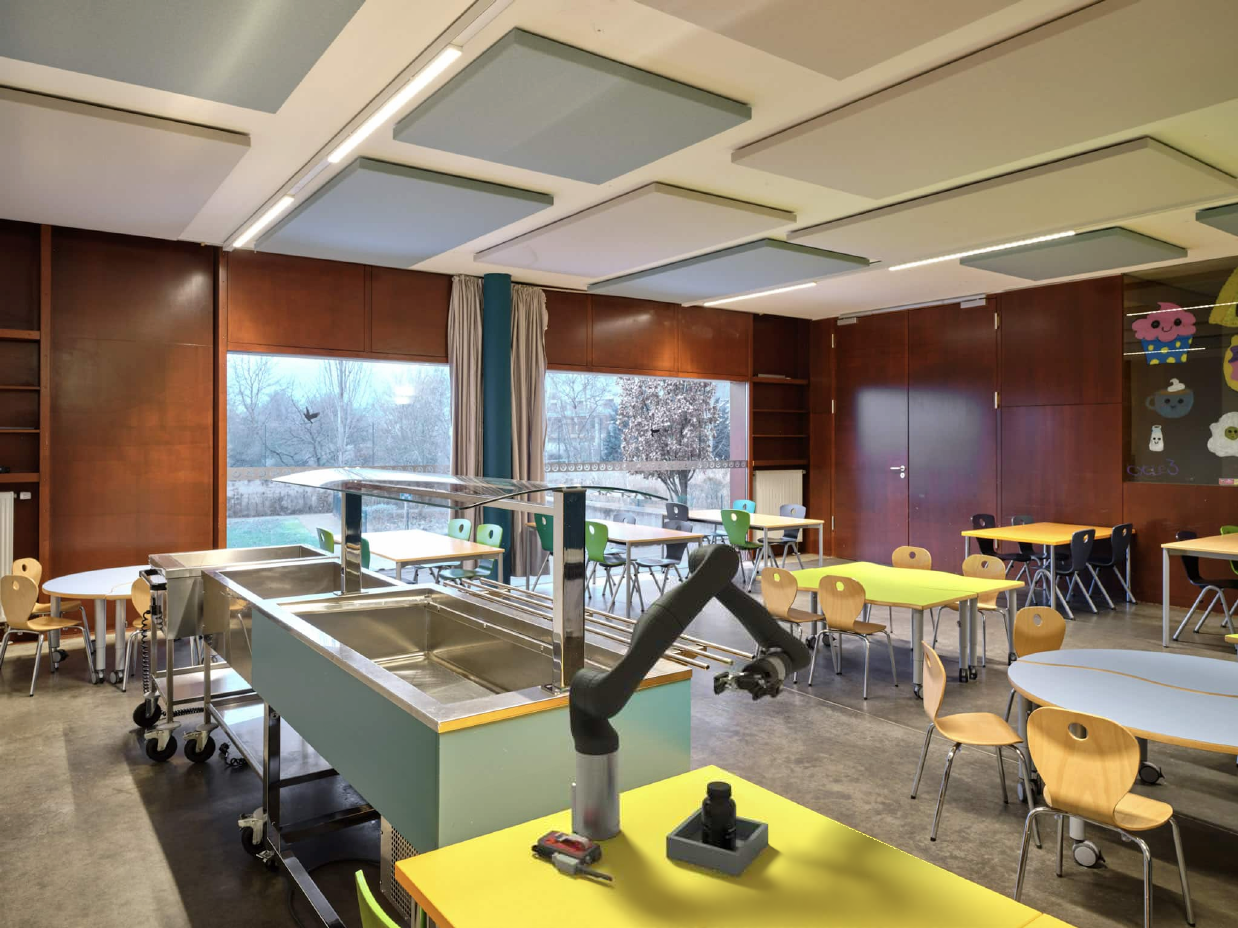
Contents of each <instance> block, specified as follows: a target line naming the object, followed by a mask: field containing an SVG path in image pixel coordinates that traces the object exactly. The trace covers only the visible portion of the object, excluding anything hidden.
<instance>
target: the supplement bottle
mask: <svg viewBox="0 0 1238 928" xmlns="http://www.w3.org/2000/svg"><path fill="white" fill-rule="evenodd" d="M705 793H706V796H704V798H703V800H702V801H701V808H702V844H706V845H710V846H714V847H717V848H721V849H725V850H728V851H733V850H734V849H735V848H736V816H737V803H736V801H735V799H733V798H732V796H733V794H732V793H733V792H732V786H731V784H730V783H728V782H725V781H719V780H717V781H710V782H708V783H707V784H706V792H705Z"/></svg>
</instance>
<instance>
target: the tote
mask: <svg viewBox="0 0 1238 928" xmlns="http://www.w3.org/2000/svg"><path fill="white" fill-rule="evenodd" d="M768 845H769V823H766V822H763V821H758V820H755V819H750V818H746V817H741V816H738V815H736V848H735V849H734V850H733V851H728V850H725V849H721V848H717V847H714V846H710V845H706V844H702V806H700V807H699V808H698V809H697V810H695V811H694V812H693V813H692V814H690V815H689V816H688V817H687V818H686V819H685V820H683V821H682V822H681V823H680V824H679V825H677V826H676V827H675V828H674V829H673V830H671V831H670V832H669V833H668V834H667V835H666V836H665V848H666V849H665V851H666V852H665V853H666V855H665V856H666V858H667V859H671V860H675V861H679V862H683V863H686V864H689V865H692V864H693V865H692V866H695V867H696V866H697V867H700V868H702V867H704V868H703V869H706V868H707V870H709V869H711V871H713V870H716V871H719V872H718V873H720V872H722V873H721V874H723V873H726V874H725V875H727V874H728V876H730V875H732V876H731V877H734V876H735V877H734V878H737V879H738V878H740V877H741V876H742V875H743V873H744V872H745V871H746V870H747V869H748V868H749V867H750V866H751V864H752V863H753V862H754V861H755V860H756V859H757V858H758V856H759V855H760V854H761V853H762V852H763V851H764V850H765V848H767V846H768ZM762 850H763V851H762ZM755 858H756V859H755ZM754 859H755V860H754ZM752 861H753V862H752ZM747 867H748V868H747ZM744 870H745V871H744ZM716 871H715V872H716ZM740 875H741V876H740ZM739 876H740V877H739Z"/></svg>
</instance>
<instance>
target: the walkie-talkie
mask: <svg viewBox="0 0 1238 928" xmlns="http://www.w3.org/2000/svg"><path fill="white" fill-rule="evenodd" d="M601 847H602V846H601V844H599V843H596V842H594V841H592V840H589V839H588V838H586V837H583V836H582V837H580V835H578V834H577V833H574V832H573V833H571V834H568V833H565V832H563V831H559V830H551V831H549V832H547V833H545V834H544V835H542V836H540V837H539V838H538V839H537V844H533V845H531V851H532V852H533V853H535V854H537V856H538V857H541V858H544V859H546V860H550V861H551V862H553V863H554V865H555V867H556V869H557V870H560V871H563V872H565V873H568V874H570V875H571V876H574V875H576V874H577V873H579V874H583V875H587V876H590V877H593V878H596V879H602V880H605V881H608V882H612V881H613V877H612V876H611V875H608V874H605V873H603V872H600V871H597V870H594V869H591V868H589V867H590V866H591V865H592V864H594V863H595V862H599V861H600V860H601V859H602V855H603V854H602V853H603V852H602V850H601V849H602V848H601Z"/></svg>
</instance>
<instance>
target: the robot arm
mask: <svg viewBox="0 0 1238 928" xmlns="http://www.w3.org/2000/svg"><path fill="white" fill-rule="evenodd" d="M740 562H741V561H740V556H739V553H738V551H737V549H735V548H734V547H733V546H732V545H730V544H728V543H714V544H713V543H712V544H708V545H702V546H699V547H697V548H694V549H693V550H692V551H691V552H690V554H689V556H688V559H687V567H688V568H687V569H688V571H689V573H690V574H691V575H690V576H689V577H688V578H686V579H685V580H684V581H682V582H681V583H679V584H678V585H676V586H675V587H673V588H671V589H670V590H668V591H666V592H665V593H664V594H662V595H660V597H658V598H657V599H656V600H655V601H653V602H652V603H651V604H650V605H649V606H648V607H647V608H646V609H645V611H644V612H643V613H642V614H641V615H640V616H639V617H638V619H637V620H636V622H635V624H634V627H633V630H632V632H631V638H630V642H629V645H628V649H627V651H626V652H625V653H624V655H623V656H622V657H621V658H620V659H619V661H618V662H617V663H616V664H615V665H614V666H613V667H612V668H611V669H609V671H605V670H602V669H599V668H595V667H591V666H587V667H584V668H581V669H579V670H578V671H577V672H575V674H574V676H573V678H572V680H571V682H570V685H569V692H568V708H569V709H568V710H569V724H570V725H569V727H570V728H569V729H570V733H571V737H572V739H573V742H574V767H575V768H574V774H575V775H574V779H575V780H574V781H575V782H573V783H572V784H571V786H570V796H571V798H570V804H571V807H570V808H571V813H570V814H571V817H570V818H571V831H573V832H575V834H577V835H580V837H582V836H583V837H586V838H588V839H589V840H590V841H602V840H609V839H612V838H613V837H615V836H617V835H618V834H619V833H620V830H621V815H620V813H621V810H620V809H621V808H620V807H621V803H620V801H621V799H620V798H621V797H620V796H621V795H620V794H621V792H620V788H621V787H620V784H621V783H620V737H619V733H618V732H617V730H616V729H615V728H614V727H613V725H612V724H611V722H610V721H609V719H612V718H614V717H615V716H617V715H618V714H619V713H620V712H621V711H622V710H623V709H624V708H625V706H626V705H627V704H628V702H629V700H630V699H631V698H632V696H633V695H634V693H635V692H636V690H637V689H638V687H639V686H640V685H641V684H642V682H643V681H644V679H645V677H647V675H648V674H649V672H650V671H651V670H652V669H653V668H654V667H655V665H656V664H657V663H658V662H659V661H660V660H661V658H662V657H663V655H664V654H665V653H666V652H667V651H668V650H669V649H670V648H671V647H672V646H673V644H674V643H676V641H677V640H678V639H679V638H680V636H681V635H682V634H683V632H685V630H686V629H687V628H688V627H689V625H690V624H691V623H692V622H693V620H695V618H696V617H698V615H699V614H700V613H701V612H702V610H703V609H704V608H705V607H706V605H707V604H708V603H709V602H710V601H711V600H712V599H713V598H715V599H716V600H717V601H718V602H719V603H720V604H721V605H723V606H724V607H725V609H726V610H728V612H730V613H731V614H732V615H733V617H735V618H736V619H737V621H738V622H739V623H740V624H741V625H742V626H743V627H744V628H745V630H746V631H747V633H749V635H750V636H751V637H752V639H753V640H754V641H755V642H756V643H757V645H758V646H759V647H760V648H762V649H765V650H767V649H768V650H769V649H771V650H769V651H768V652H766V654H765V655H762V656H759V657H758V658H756V659H754V660H752V661H751V662H748V663H747V664H745V665H744V667H743V668H742V670H741V671H740V673H736V674H730V672H729V671H727V670H725V671H723V672H721V673H719V674H717V675H715V676H713V692H714V695H720V694H722V693H724V692H725V691H726V692H727V691H730V692H731V693H735V692H744V693H745V692H748V694H750V695H751V698H752V701H755V702H757V701H758V700H760V699H762V698H767V697H768V696H769V697H770V698H772V699H777V697H778V696H780V694H781V693H783V691H784V686H783V685H784V681H785V680H787V679H788V677H789V676H790V675H793V674H794V673H798V672H799V671H802V670H804V669H806V668H808V667H809V666H810V665H811V662H812V654H811V651H810V650H809V648H808V647H807V645H806V644H805V642H803V640H801V639H800V638H798V636H797V637H796V635H794V634H792V633H791V632H790V631H788V630H787V629H785V628H784V627H783V626H782V625H780V623H779V622H778V621H777V620H776V618H775V617H774V616H773V614H772V613H771V612H770V611H769V610H768V609H767V608H766V607H765V606H764V604H762V603H761V602H760V601H759V600H757V599H755V598H754V597H752V596H751V595H749V594H748V593H747V592H745V591H744V590H742V589H741V588H740V587H739V586H737V585H736V584H735V583H734V581H733V580H734V578H735V577H736V575H737V574H738V571H739V569H740ZM735 686H736V687H735Z"/></svg>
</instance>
